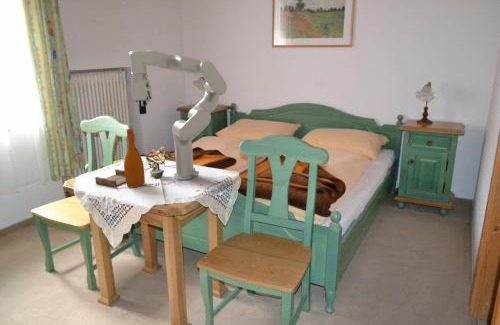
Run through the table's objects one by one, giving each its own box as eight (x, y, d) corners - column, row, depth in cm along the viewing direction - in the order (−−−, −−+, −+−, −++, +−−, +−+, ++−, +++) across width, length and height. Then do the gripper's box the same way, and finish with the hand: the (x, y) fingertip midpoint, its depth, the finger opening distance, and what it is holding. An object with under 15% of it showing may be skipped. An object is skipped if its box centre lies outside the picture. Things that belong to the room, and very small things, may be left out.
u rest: (136, 178, 214) (135, 172, 213) (115, 187, 201) (114, 181, 200) (117, 175, 220) (116, 169, 219) (95, 183, 207) (95, 177, 206)
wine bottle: (140, 188, 199) (134, 131, 190) (122, 187, 201) (115, 130, 192) (148, 182, 208) (143, 127, 199) (131, 181, 210) (125, 126, 201)
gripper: (156, 76, 191) (159, 113, 196) (134, 76, 198) (138, 111, 203) (144, 78, 184) (148, 116, 190) (123, 77, 192) (127, 113, 197)
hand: (143, 113), depth 197 cm, fingers closed
